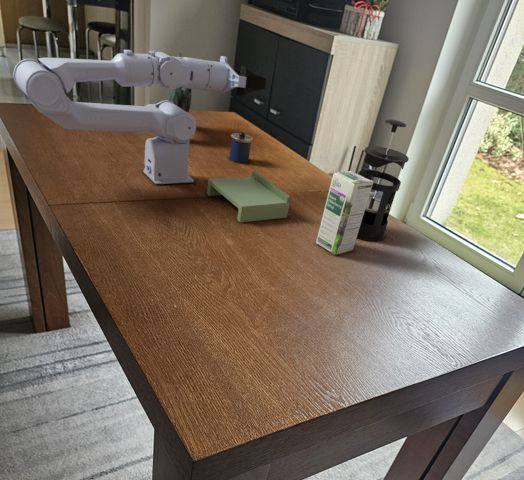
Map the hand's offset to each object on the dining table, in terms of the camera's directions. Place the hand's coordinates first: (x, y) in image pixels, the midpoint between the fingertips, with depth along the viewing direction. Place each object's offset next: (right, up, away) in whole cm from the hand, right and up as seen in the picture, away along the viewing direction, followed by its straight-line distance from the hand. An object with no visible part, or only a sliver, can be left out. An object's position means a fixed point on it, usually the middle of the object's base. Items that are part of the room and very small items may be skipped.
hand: (255, 81), depth 116 cm
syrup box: (+16, -41, -13) cm, 46 cm away
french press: (+24, -35, -4) cm, 43 cm away
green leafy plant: (-23, +2, +32) cm, 40 cm away
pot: (-5, -10, +21) cm, 24 cm away
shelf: (-2, -30, -4) cm, 30 cm away
